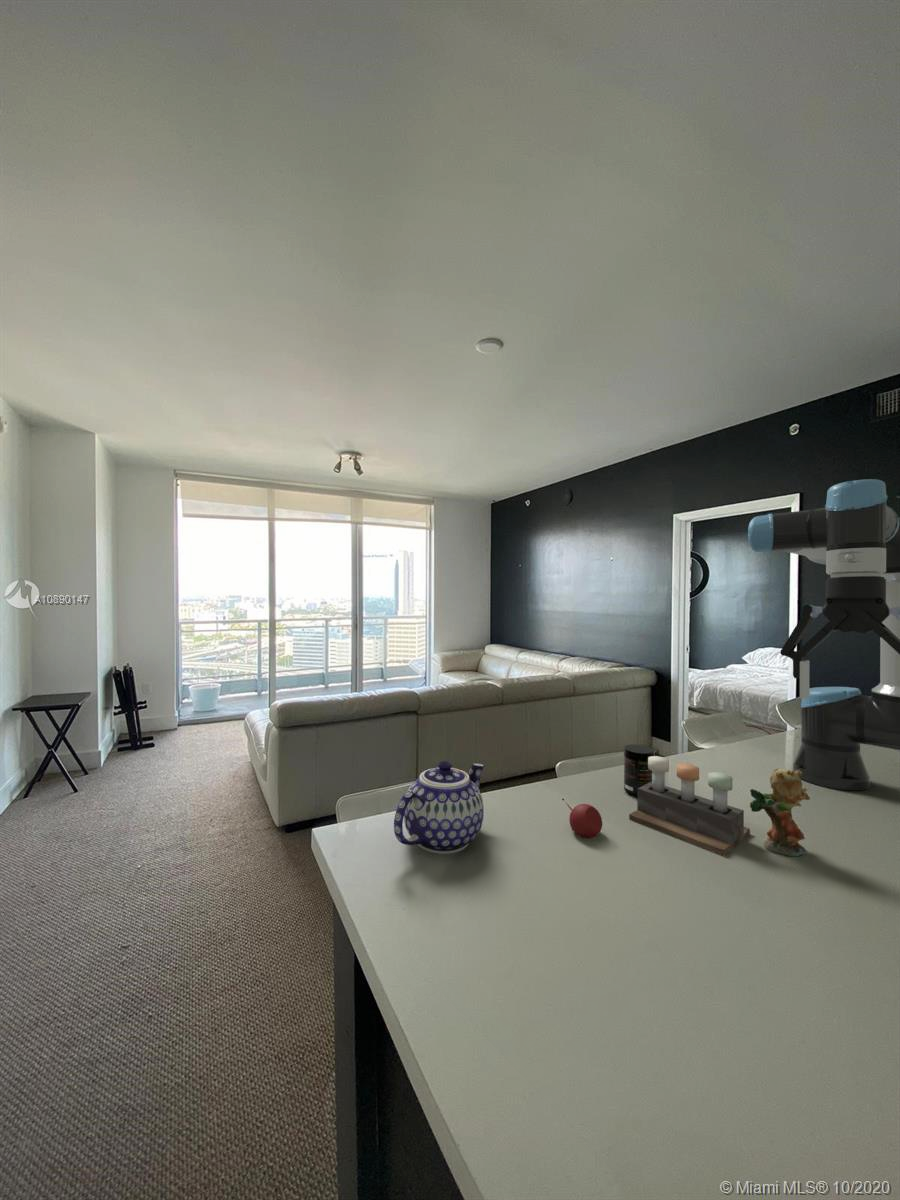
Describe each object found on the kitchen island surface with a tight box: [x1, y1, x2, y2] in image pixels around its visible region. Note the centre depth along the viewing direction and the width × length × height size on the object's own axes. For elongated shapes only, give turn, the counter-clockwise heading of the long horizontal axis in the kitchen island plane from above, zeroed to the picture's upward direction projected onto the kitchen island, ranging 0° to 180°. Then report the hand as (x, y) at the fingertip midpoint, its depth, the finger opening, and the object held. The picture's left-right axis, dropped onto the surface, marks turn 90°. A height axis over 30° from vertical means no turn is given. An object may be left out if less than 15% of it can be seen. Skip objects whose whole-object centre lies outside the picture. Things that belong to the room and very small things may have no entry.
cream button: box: [648, 755, 670, 793], centre depth 99 cm, size 4×4×6 cm
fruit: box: [561, 798, 603, 839], centre depth 92 cm, size 6×6×8 cm
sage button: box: [707, 771, 733, 813], centre depth 89 cm, size 4×4×6 cm
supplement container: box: [623, 744, 656, 798], centre depth 110 cm, size 7×7×10 cm
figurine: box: [749, 767, 811, 857], centre depth 86 cm, size 9×8×15 cm
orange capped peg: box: [676, 763, 700, 802], centre depth 94 cm, size 4×4×6 cm
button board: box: [628, 782, 751, 857], centre depth 94 cm, size 12×18×6 cm
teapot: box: [393, 760, 485, 855], centre depth 88 cm, size 25×15×15 cm, turn 138°
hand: (854, 704), depth 78 cm, fingers open, 13 cm apart
